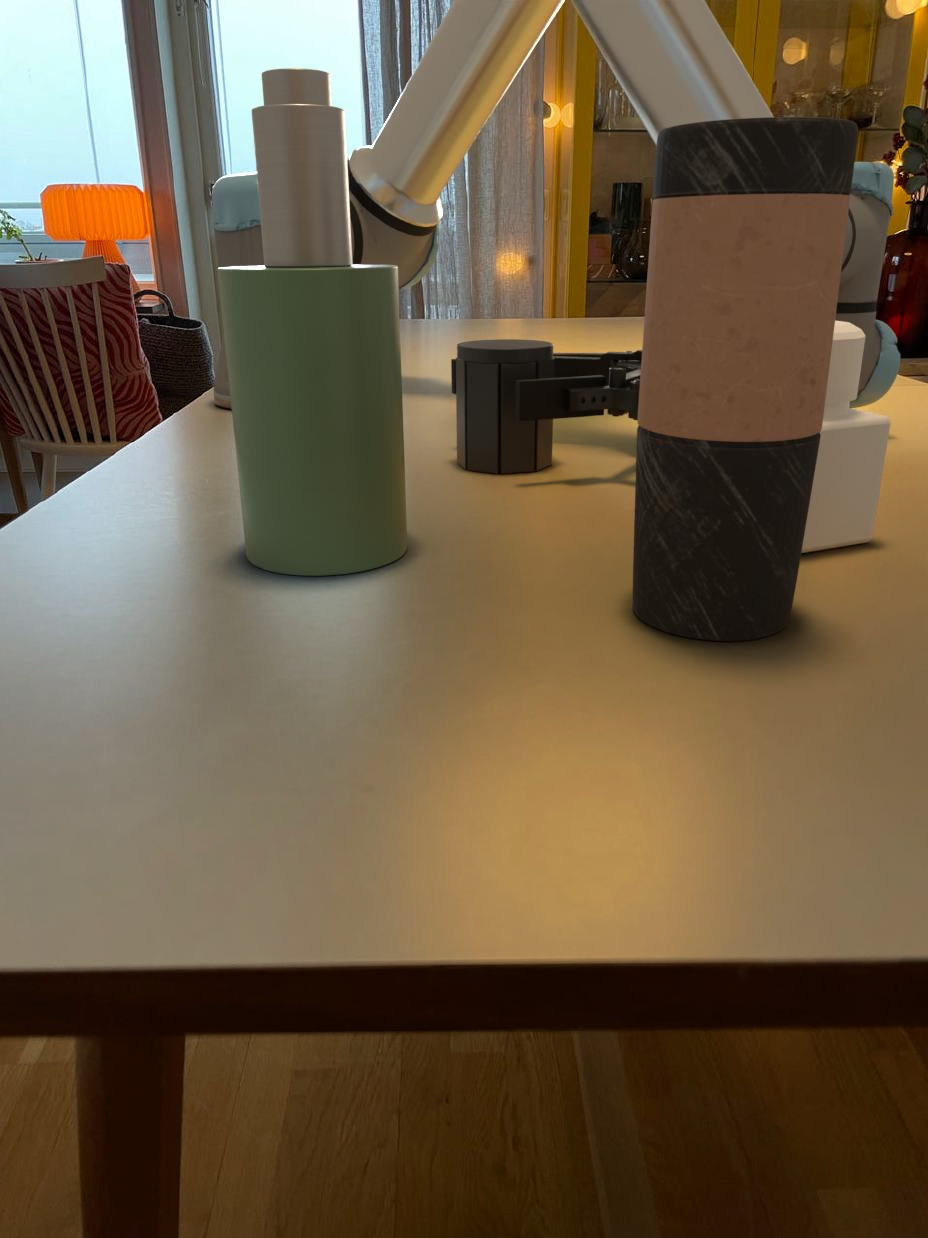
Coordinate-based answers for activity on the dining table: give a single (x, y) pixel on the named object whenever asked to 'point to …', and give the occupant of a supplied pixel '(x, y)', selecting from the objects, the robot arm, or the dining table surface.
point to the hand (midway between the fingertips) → (482, 387)
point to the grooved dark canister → (500, 406)
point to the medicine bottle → (846, 454)
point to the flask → (313, 354)
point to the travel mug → (735, 367)
